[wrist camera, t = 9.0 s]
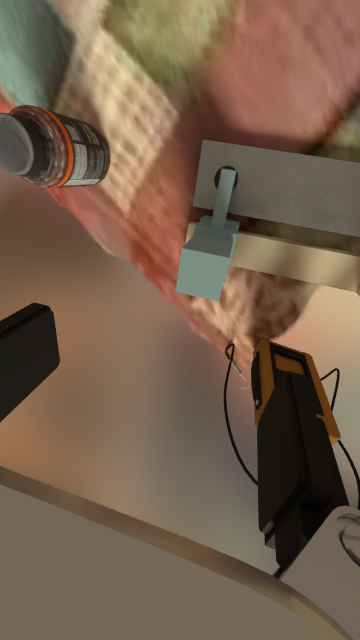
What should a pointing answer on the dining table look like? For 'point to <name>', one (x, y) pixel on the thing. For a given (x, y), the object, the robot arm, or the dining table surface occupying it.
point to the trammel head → (210, 247)
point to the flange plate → (282, 186)
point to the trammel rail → (294, 260)
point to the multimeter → (265, 376)
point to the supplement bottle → (51, 148)
